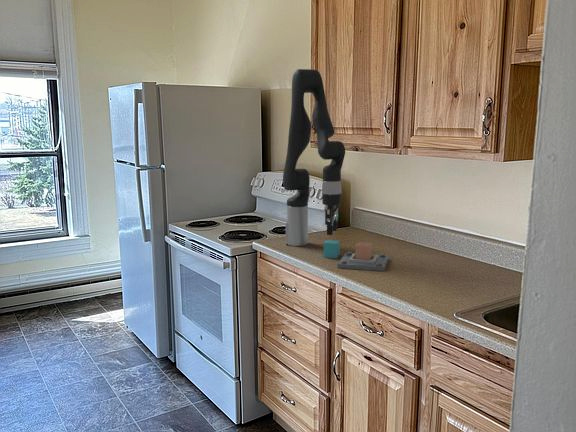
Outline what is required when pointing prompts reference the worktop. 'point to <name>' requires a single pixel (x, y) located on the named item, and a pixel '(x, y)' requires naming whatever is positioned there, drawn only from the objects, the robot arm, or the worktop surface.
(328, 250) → the teal block
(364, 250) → the terracotta block
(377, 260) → the plate
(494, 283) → the worktop surface
